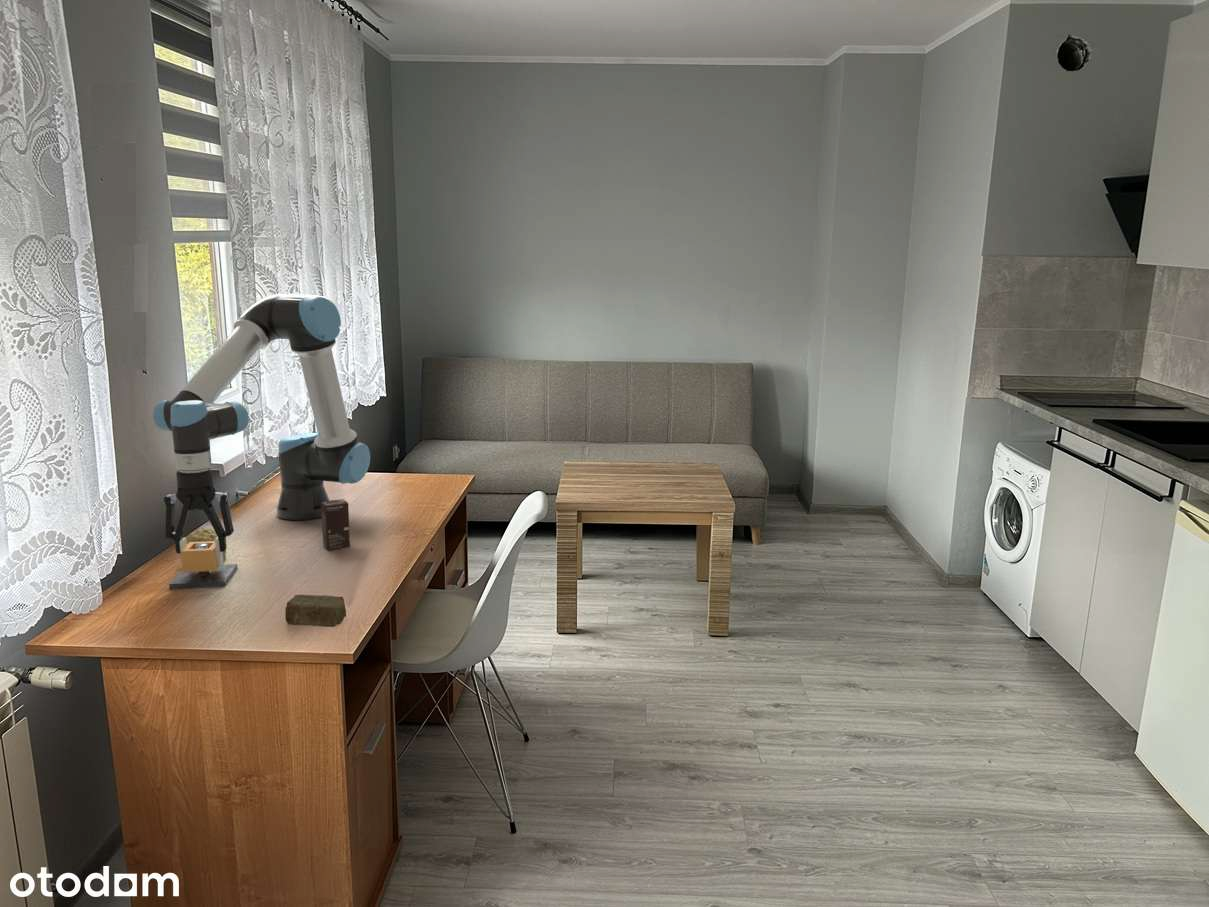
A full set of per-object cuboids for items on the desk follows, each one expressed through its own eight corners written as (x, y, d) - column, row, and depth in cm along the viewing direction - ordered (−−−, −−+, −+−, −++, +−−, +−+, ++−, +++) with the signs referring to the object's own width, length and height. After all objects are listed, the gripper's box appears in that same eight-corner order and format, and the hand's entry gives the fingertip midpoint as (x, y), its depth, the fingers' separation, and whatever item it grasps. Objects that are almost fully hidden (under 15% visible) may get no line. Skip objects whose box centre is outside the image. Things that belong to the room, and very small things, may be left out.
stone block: (296, 614, 194) (295, 592, 193) (349, 618, 193) (347, 595, 191) (284, 625, 188) (282, 602, 187) (337, 629, 187) (336, 605, 186)
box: (328, 551, 234) (325, 505, 232) (323, 546, 238) (319, 501, 235) (351, 547, 237) (348, 502, 235) (345, 542, 241) (343, 498, 239)
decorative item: (227, 574, 228) (241, 537, 232) (202, 562, 219) (216, 523, 223) (196, 571, 231) (210, 534, 235) (170, 558, 222) (185, 520, 226)
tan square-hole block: (191, 562, 217) (189, 542, 216) (222, 561, 218) (220, 540, 217) (182, 572, 210) (180, 551, 209) (214, 570, 211) (212, 550, 210)
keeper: (185, 571, 219) (181, 538, 218) (237, 568, 221) (234, 536, 219) (169, 589, 208) (165, 554, 206) (225, 586, 210) (222, 552, 208)
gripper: (141, 474, 204) (152, 572, 209) (235, 471, 207) (244, 568, 212) (153, 466, 211) (162, 562, 216) (243, 464, 214) (251, 558, 219)
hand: (202, 565), depth 214 cm, fingers closed on tan square-hole block, 7 cm apart
